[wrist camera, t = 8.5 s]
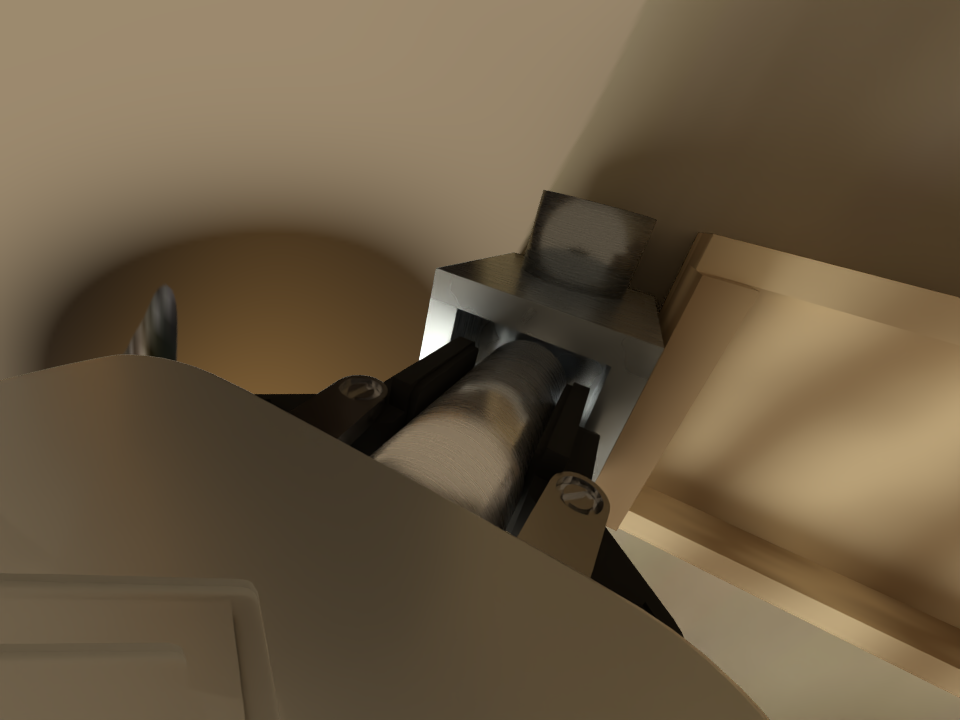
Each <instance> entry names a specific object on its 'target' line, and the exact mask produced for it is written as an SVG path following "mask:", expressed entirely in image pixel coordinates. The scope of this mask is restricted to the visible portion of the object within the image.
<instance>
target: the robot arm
mask: <svg viewBox="0 0 960 720" xmlns="http://www.w3.org/2000/svg"><path fill="white" fill-rule="evenodd" d="M478 351H479V349H478V347H475V342H474V341H471V340H469V339H466V338H464V337H461V336H459V337H457V338H456V339H454V340H452V341H451V342H449V343H447V344H446V345H444V346H442V347H441V348H439V349H437V350H436V351H434V352H432V353H431V354H429V355H427V356H426V357H424V358H423V359H421V360H419V361H418V362H416V363H414V364H413V365H411V366H409V367H408V368H406V369H404V370H403V371H401V372H400V373H398V374H396V375H394V376H393V377H391V378H390V379H388V380H386V381H385V382H382V381H380V380H378V379H376V378H374V377H370V376H364V375H352V376H347V377H344V378H342V379H340V380H338V381H336V382H335V383H333V384H332V385H330V386H329V387H327V388H326V389H324V390H322V391H321V392H319V393H318V394H252V393H250V392H249V391H246V390H245V389H243V388H240V387H239V386H236V385H234V384H232V383H230V382H228V381H226V380H224V379H222V378H220V377H217V376H216V375H214V374H212V373H209V372H207V371H204V370H202V369H199V368H197V367H194V366H191V365H188V364H184V363H180V362H177V361H173V360H169V359H164V358H158V357H152V356H143V355H125V354H123V355H113V356H106V357H100V358H96V359H91V360H86V361H81V362H76V363H72V364H67V365H63V366H58V367H54V368H49V369H45V370H40V371H36V372H33V373H28V374H24V375H19V376H15V377H11V378H7V379H3V380H0V720H770V719H769V718H768V717H767V716H766V715H765V713H764V712H763V711H762V710H761V709H760V708H759V707H758V705H757V704H756V703H755V702H754V701H753V700H752V699H751V698H750V697H749V696H748V695H747V694H746V693H745V692H744V691H743V690H742V689H741V688H740V687H739V686H738V685H737V684H736V683H735V682H734V681H733V680H732V679H731V678H730V677H729V676H727V675H726V674H725V673H724V672H723V671H722V670H721V669H720V668H719V667H718V666H717V665H716V664H714V663H713V662H712V661H711V660H710V659H709V658H708V657H707V656H706V655H705V654H703V653H702V652H701V651H699V650H698V649H697V648H696V647H694V646H693V645H692V644H691V643H689V642H688V641H687V640H685V639H684V637H683V634H682V632H681V630H680V629H679V627H678V626H677V624H676V622H675V621H674V619H673V618H672V616H671V615H670V614H669V612H668V611H667V610H666V608H665V607H664V606H663V604H662V603H661V601H660V600H659V599H658V597H657V596H656V595H655V593H654V592H653V591H652V589H651V588H650V587H649V585H648V584H647V582H646V581H645V580H644V578H643V577H642V576H641V574H640V573H639V572H638V570H637V569H636V568H635V566H634V565H633V563H632V562H631V561H630V559H629V558H628V557H627V555H626V554H625V553H624V551H623V550H622V549H621V547H620V546H619V545H618V543H617V542H616V540H615V539H614V538H613V536H612V535H611V534H610V532H609V531H608V530H607V528H606V523H607V520H608V516H609V513H610V503H609V500H608V497H607V496H606V494H605V493H604V491H603V490H602V489H601V488H600V487H599V486H598V485H597V484H596V483H595V482H593V481H592V477H593V472H594V466H595V461H596V456H597V450H598V445H599V440H600V435H599V434H597V433H594V432H592V431H590V430H587V429H585V428H583V427H580V426H579V424H580V421H581V418H582V414H583V411H584V408H585V405H586V401H587V398H588V395H589V392H590V388H588V387H586V386H583V385H581V384H578V383H576V382H574V384H573V386H572V385H569V384H567V383H566V385H565V387H564V389H563V391H562V393H561V396H560V398H559V400H558V402H557V404H556V406H555V408H554V410H553V413H552V415H551V417H550V419H549V421H548V423H547V425H546V428H545V430H544V432H543V434H542V436H541V438H540V440H539V443H538V445H537V447H536V450H535V452H534V455H533V457H532V460H531V462H530V465H529V467H528V470H527V472H526V475H525V484H524V489H523V492H522V495H521V497H520V499H519V502H518V504H517V506H516V508H515V511H514V513H513V515H512V517H511V520H510V522H509V524H508V526H507V529H506V531H508V532H509V533H508V532H506V531H504V530H503V529H501V528H499V527H497V526H495V525H494V524H492V523H490V522H488V521H486V520H484V519H483V518H481V517H479V516H477V515H475V514H474V513H472V512H470V511H468V510H466V509H464V508H463V507H461V506H459V505H457V504H455V503H453V502H452V501H450V500H448V499H446V498H444V497H442V496H440V495H439V494H437V493H435V492H433V491H431V490H430V489H428V488H426V487H424V486H422V485H420V484H419V483H417V482H415V481H413V480H411V479H409V478H408V477H406V476H404V475H402V474H400V473H398V472H397V471H395V470H393V469H391V468H389V467H387V466H386V465H384V464H382V463H380V462H378V461H376V460H375V459H373V458H371V457H369V456H370V455H371V454H372V453H374V452H375V451H376V450H377V449H378V448H380V447H381V446H382V445H383V444H384V443H385V442H387V441H388V440H389V439H390V438H391V437H393V436H394V435H395V434H396V433H397V432H398V431H400V430H401V429H402V428H403V427H404V426H406V425H407V424H408V423H409V422H410V421H411V420H413V419H414V418H415V417H416V416H417V415H419V414H420V413H421V412H422V411H423V410H424V409H426V408H427V407H428V406H429V405H430V404H432V403H433V402H434V401H435V400H436V399H437V398H439V397H440V396H441V395H442V394H443V393H445V392H446V391H447V390H448V389H449V388H450V387H452V386H453V385H454V384H455V383H456V382H458V381H459V380H460V379H461V378H462V377H463V376H465V375H466V374H467V373H468V372H469V371H470V370H472V369H473V368H474V367H475V363H476V359H477V355H478ZM510 533H511V534H510Z"/></svg>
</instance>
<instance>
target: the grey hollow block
mask: <svg viewBox="0 0 960 720" xmlns="http://www.w3.org/2000/svg"><path fill="white" fill-rule="evenodd" d="M656 221H657V220H656V219H653V218H650V217H647V216H644V215H640V214H637V213H633V212H630V211H626V210H622V209H619V208H615V207H611V206H607V205H604V204H600V203H596V202H592V201H588V200H584V199H581V198H577V197H573V196H568V195H564V194H560V193H556V192H551V191H546V190H543V194H542V197H541V200H540V204H539V207H538V211H537V214H536V218H535V221H534V225H533V228H532V232H531V235H530V239H529V242H528V246H527V249H526V253H525V256H524V255H521V254H517V253H509V254H504V255H499V256H494V257H489V258H484V259H479V260H474V261H469V262H465V263H460V264H454V265H449V266H444V267H440V268H436V272H435V278H434V283H433V288H432V294H431V299H430V305H429V311H428V316H427V321H426V327H425V332H424V337H423V343H422V348H421V354H420V360H421V359H423V358H424V357H426V356H427V355H429V354H431V353H432V352H434V351H436V350H437V349H439V348H441V347H442V346H444V345H446V344H447V343H449V342H451V341H452V340H454V339H456V338H457V337H459V336H461V337H464V338H466V339H469V340H471V341H474V342H475V347H478V349H479V351H478V355H477V359H476V363H475V366H476V365H478V364H479V363H480V362H481V361H482V360H483V359H485V358H486V357H487V356H488V355H489V354H491V353H492V352H493V351H494V350H495V349H497V348H498V347H499V346H501V345H503V344H505V343H507V342H511V341H518V340H523V341H530V342H534V343H537V344H539V345H541V346H543V347H545V348H546V349H548V350H549V351H550V352H551V353H552V354H553V355H554V356H555V357H556V358H557V359H558V360H559V362H560V363H561V365H562V367H563V369H564V372H565V375H566V381H567V384H569V385H572V386H573V384H574V382H576V383H578V384H581V385H583V386H586V387H588V388H590V392H589V395H588V398H587V401H586V405H585V408H584V411H583V414H582V418H581V421H580V424H579V426H580V427H583V428H585V429H587V430H590V431H592V432H594V433H597V434H599V435H600V440H599V445H598V450H597V456H596V461H595V466H594V472H593V477H592V481H593V482H595V481H596V479H597V478H598V476H599V474H600V472H601V470H602V468H603V466H604V464H605V462H606V460H607V458H608V456H609V454H610V452H611V450H612V448H613V447H614V445H615V443H616V441H617V439H618V437H619V435H620V433H621V431H622V429H623V427H624V425H625V423H626V421H627V419H628V417H629V416H630V414H631V412H632V410H633V408H634V406H635V404H636V402H637V400H638V398H639V396H640V394H641V392H642V390H643V388H644V386H645V385H646V383H647V381H648V379H649V377H650V375H651V373H652V371H653V369H654V367H655V365H656V363H657V361H658V359H659V357H660V355H661V354H662V352H663V350H664V344H663V339H662V334H661V329H660V324H659V319H658V313H657V308H656V303H655V298H654V296H650V295H647V294H644V293H641V292H638V291H635V290H631V289H628V286H629V283H630V281H631V279H632V276H633V274H634V272H635V269H636V267H637V265H638V262H639V260H640V258H641V255H642V253H643V251H644V248H645V246H646V244H647V241H648V239H649V237H650V234H651V232H652V230H653V227H654V225H655V223H656Z"/></svg>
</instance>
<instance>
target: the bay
mask: <svg viewBox="0 0 960 720" xmlns="http://www.w3.org/2000/svg"><path fill="white" fill-rule="evenodd" d="M658 319H659V324H660V329H661V334H662V339H663V344H664V350H663V352H662V354H661V355H660V357H659V359H658V361H657V363H656V365H655V367H654V369H653V371H652V373H651V375H650V377H649V379H648V381H647V383H646V385H645V386H644V388H643V390H642V392H641V394H640V396H639V398H638V400H637V402H636V404H635V406H634V408H633V410H632V412H631V414H630V416H629V417H628V419H627V421H626V423H625V425H624V427H623V429H622V431H621V433H620V435H619V437H618V439H617V441H616V443H615V445H614V447H613V448H612V450H611V452H610V454H609V456H608V458H607V460H606V462H605V464H604V466H603V468H602V470H601V472H600V474H599V476H598V478H597V479H596V481H595V483H596V484H597V485H598V486H599V487H600V488H601V489H602V490H603V491H604V493H605V494H606V496H607V497H608V500H609V503H610V513H609V516H608V520H607V523H606V526H607V527H609V528H611V529H613V530H615V531H617V529H618V528H619V529H621V530H623V531H625V532H627V533H629V534H631V535H633V536H635V537H637V538H640V539H642V540H644V541H646V542H648V543H650V544H652V545H654V546H656V547H658V548H660V549H662V550H664V551H666V552H668V553H670V554H672V555H674V556H676V557H678V558H680V559H682V560H684V561H686V562H688V563H690V564H692V565H694V566H696V567H698V568H700V569H702V570H704V571H706V572H708V573H710V574H712V575H714V576H716V577H718V578H720V579H722V580H724V581H726V582H728V583H730V584H732V585H734V586H736V587H738V588H740V589H742V590H744V591H746V592H748V593H750V594H752V595H754V596H756V597H758V598H760V599H762V600H764V601H766V602H768V603H770V604H772V605H774V606H776V607H778V608H780V609H782V610H784V611H786V612H788V613H790V614H792V615H794V616H796V617H798V618H800V619H802V620H804V621H806V622H808V623H810V624H812V625H814V626H816V627H818V628H820V629H822V630H824V631H826V632H828V633H830V634H832V635H834V636H836V637H839V638H841V639H843V640H845V641H847V642H849V643H851V644H853V645H855V646H857V647H859V648H861V649H863V650H865V651H867V652H869V653H871V654H873V655H875V656H877V657H879V658H881V659H883V660H885V661H887V662H889V663H891V664H893V665H895V666H897V667H899V668H901V669H903V670H905V671H907V672H909V673H911V674H913V675H915V676H917V677H919V678H921V679H923V680H925V681H927V682H929V683H931V684H933V685H935V686H937V687H939V688H941V689H943V690H945V691H947V692H949V693H951V694H953V695H955V696H957V697H959V698H960V298H959V297H955V296H951V295H947V294H943V293H940V292H936V291H932V290H928V289H924V288H920V287H916V286H913V285H909V284H905V283H901V282H897V281H893V280H889V279H886V278H882V277H878V276H874V275H870V274H866V273H862V272H859V271H855V270H851V269H847V268H843V267H839V266H835V265H832V264H828V263H824V262H820V261H816V260H812V259H808V258H805V257H801V256H797V255H793V254H789V253H785V252H781V251H778V250H774V249H770V248H766V247H762V246H758V245H754V244H751V243H747V242H743V241H739V240H735V239H731V238H727V237H724V236H720V235H716V234H709V233H699V232H698V234H697V237H696V239H695V241H694V243H693V245H692V247H691V249H690V251H689V253H688V255H687V257H686V259H685V261H684V263H683V265H682V267H681V269H680V271H679V274H678V276H677V278H676V280H675V282H674V284H673V286H672V288H671V290H670V292H669V294H668V296H667V298H666V300H665V302H664V304H663V306H662V309H661V311H660V313H659V315H658Z"/></svg>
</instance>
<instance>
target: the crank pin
mask: <svg viewBox="0 0 960 720" xmlns="http://www.w3.org/2000/svg"><path fill="white" fill-rule="evenodd" d="M566 383H567V381H566V375H565V372H564V369H563V367H562V365H561V363H560V362H559V360H558V359H557V358H556V357H555V356H554V355H553V354H552V353H551V352H550V351H549V350H548V349H546V348H545V347H543V346H541V345H539V344H537V343H534V342H530V341H523V340H518V341H511V342H507V343H505V344H503V345H501V346H499V347H498V348H497V349H495V350H494V351H493V352H492V353H491V354H489V355H488V356H487V357H486V358H485V359H483V360H482V361H481V362H480V363H479V364H478V365H476V366H475V367H474V368H473V369H472V370H470V371H469V372H468V373H467V374H466V375H465V376H463V377H462V378H461V379H460V380H459V381H458V382H456V383H455V384H454V385H453V386H452V387H450V388H449V389H448V390H447V391H446V392H445V393H443V394H442V395H441V396H440V397H439V398H437V399H436V400H435V401H434V402H433V403H432V404H430V405H429V406H428V407H427V408H426V409H424V410H423V411H422V412H421V413H420V414H419V415H417V416H416V417H415V418H414V419H413V420H411V421H410V422H409V423H408V424H407V425H406V426H404V427H403V428H402V429H401V430H400V431H398V432H397V433H396V434H395V435H394V436H393V437H391V438H390V439H389V440H388V441H387V442H385V443H384V444H383V445H382V446H381V447H380V448H378V449H377V450H376V451H375V452H374V453H372V454H371V455H370V456H369V457H371V458H373V459H375V460H376V461H378V462H380V463H382V464H384V465H386V466H387V467H389V468H391V469H393V470H395V471H397V472H398V473H400V474H402V475H404V476H406V477H408V478H409V479H411V480H413V481H415V482H417V483H419V484H420V485H422V486H424V487H426V488H428V489H430V490H431V491H433V492H435V493H437V494H439V495H440V496H442V497H444V498H446V499H448V500H450V501H452V502H453V503H455V504H457V505H459V506H461V507H463V508H464V509H466V510H468V511H470V512H472V513H474V514H475V515H477V516H479V517H481V518H483V519H484V520H486V521H488V522H490V523H492V524H494V525H495V526H497V527H499V528H501V529H503V530H504V531H506V529H507V526H508V524H509V522H510V520H511V517H512V515H513V513H514V511H515V508H516V506H517V504H518V502H519V499H520V497H521V495H522V492H523V489H524V484H525V475H526V472H527V470H528V467H529V465H530V462H531V460H532V457H533V455H534V452H535V450H536V447H537V445H538V443H539V440H540V438H541V436H542V434H543V432H544V430H545V428H546V425H547V423H548V421H549V419H550V417H551V415H552V413H553V410H554V408H555V406H556V404H557V402H558V400H559V398H560V396H561V393H562V391H563V389H564V387H565V385H566Z"/></svg>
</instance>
